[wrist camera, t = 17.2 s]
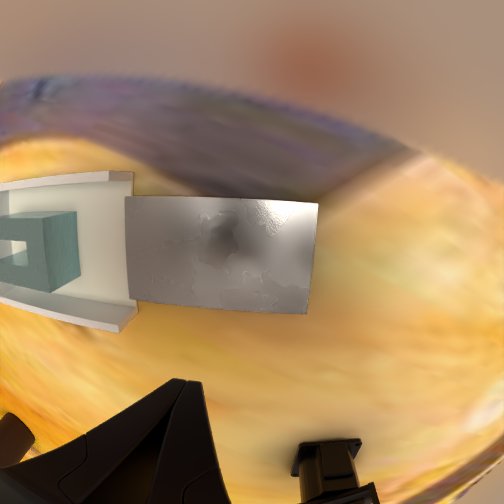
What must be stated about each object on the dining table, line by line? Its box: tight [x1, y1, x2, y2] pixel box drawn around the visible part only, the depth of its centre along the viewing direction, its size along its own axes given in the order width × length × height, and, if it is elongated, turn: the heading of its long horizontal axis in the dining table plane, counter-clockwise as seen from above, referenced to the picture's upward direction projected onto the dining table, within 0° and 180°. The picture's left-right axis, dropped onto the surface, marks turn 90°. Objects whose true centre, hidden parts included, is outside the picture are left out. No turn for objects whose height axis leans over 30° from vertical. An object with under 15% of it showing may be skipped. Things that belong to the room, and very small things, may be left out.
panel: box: [125, 196, 318, 314], centre depth 18 cm, size 7×12×1 cm, turn 87°
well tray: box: [0, 171, 138, 333], centre depth 17 cm, size 10×15×3 cm
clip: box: [0, 211, 81, 293], centre depth 16 cm, size 5×7×4 cm
